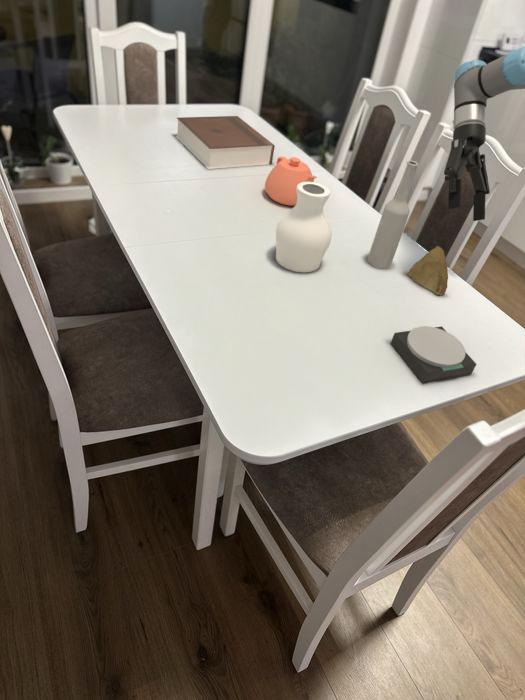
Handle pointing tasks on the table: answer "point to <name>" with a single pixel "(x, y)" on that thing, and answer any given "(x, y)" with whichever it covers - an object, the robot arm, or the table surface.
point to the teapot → (287, 180)
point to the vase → (304, 230)
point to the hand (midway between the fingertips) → (467, 214)
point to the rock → (431, 271)
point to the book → (224, 141)
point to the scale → (433, 353)
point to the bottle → (392, 223)
